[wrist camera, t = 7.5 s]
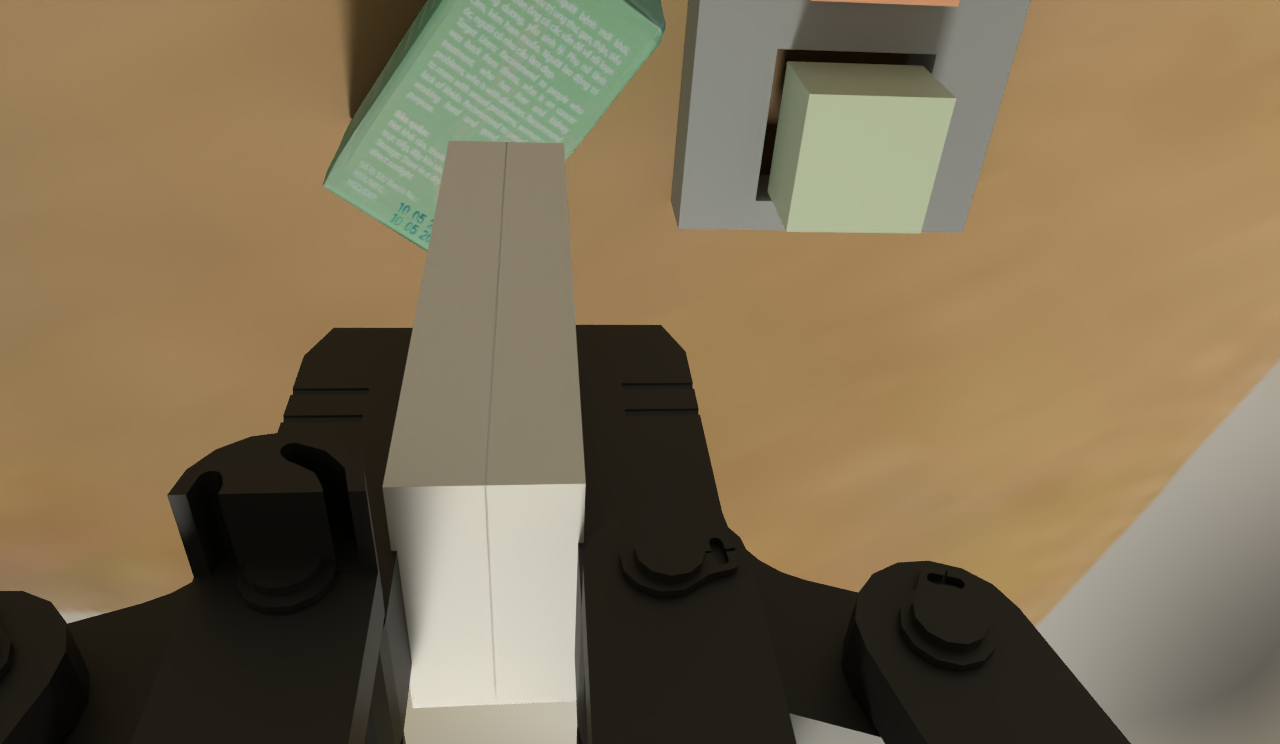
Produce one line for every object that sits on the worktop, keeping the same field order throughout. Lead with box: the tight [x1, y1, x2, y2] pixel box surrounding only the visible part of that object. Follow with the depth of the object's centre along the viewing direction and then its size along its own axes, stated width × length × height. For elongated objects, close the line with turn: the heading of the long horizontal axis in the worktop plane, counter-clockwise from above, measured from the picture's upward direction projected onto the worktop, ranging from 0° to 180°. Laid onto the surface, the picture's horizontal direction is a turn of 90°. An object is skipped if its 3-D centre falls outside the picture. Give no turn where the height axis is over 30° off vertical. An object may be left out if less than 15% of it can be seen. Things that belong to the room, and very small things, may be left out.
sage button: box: [768, 61, 956, 233], centre depth 40 cm, size 6×6×4 cm
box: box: [323, 0, 665, 252], centre depth 38 cm, size 7×14×8 cm, turn 141°
